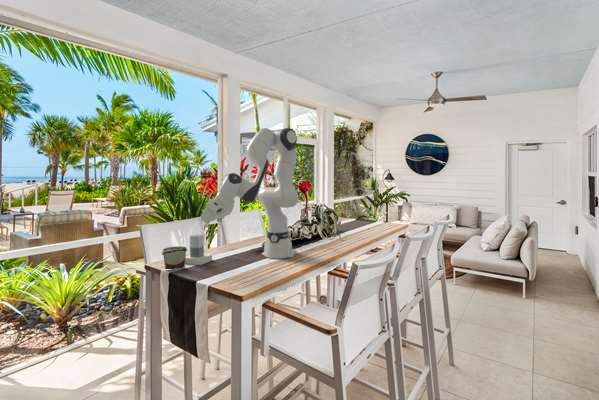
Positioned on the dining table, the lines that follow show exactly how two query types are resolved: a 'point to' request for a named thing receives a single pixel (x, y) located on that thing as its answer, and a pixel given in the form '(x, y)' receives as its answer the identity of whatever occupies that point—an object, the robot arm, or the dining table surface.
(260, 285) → the dining table surface
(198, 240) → the block
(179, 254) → the food container
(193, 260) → the stand
